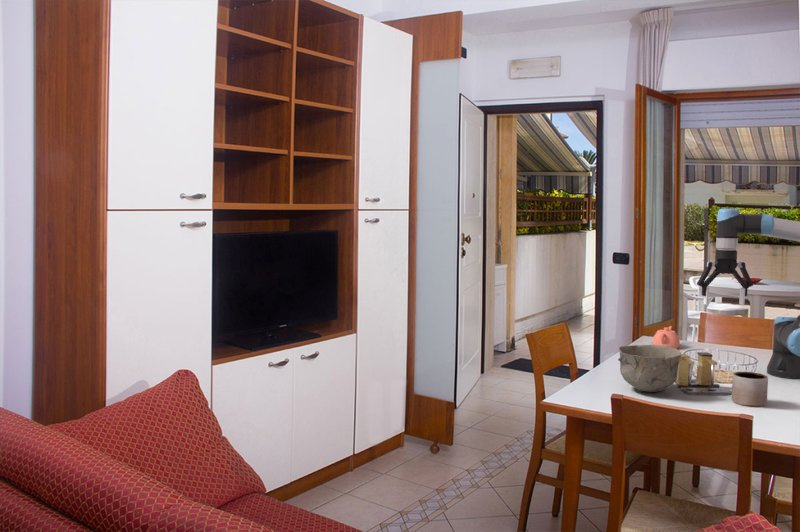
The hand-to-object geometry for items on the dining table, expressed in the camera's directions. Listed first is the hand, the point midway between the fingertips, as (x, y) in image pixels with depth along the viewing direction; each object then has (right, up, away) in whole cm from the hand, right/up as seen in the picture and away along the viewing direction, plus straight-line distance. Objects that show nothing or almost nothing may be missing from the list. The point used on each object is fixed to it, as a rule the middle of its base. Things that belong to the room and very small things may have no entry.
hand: (723, 304), depth 274 cm
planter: (-5, -32, -31) cm, 45 cm away
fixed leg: (-21, -29, -14) cm, 38 cm away
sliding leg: (-13, -29, -15) cm, 34 cm away
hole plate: (-14, -30, -19) cm, 38 cm away
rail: (-15, -30, -11) cm, 35 cm away
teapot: (+1, -24, +62) cm, 67 cm away
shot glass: (-16, -29, -2) cm, 33 cm away
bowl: (-35, -30, -17) cm, 49 cm away
